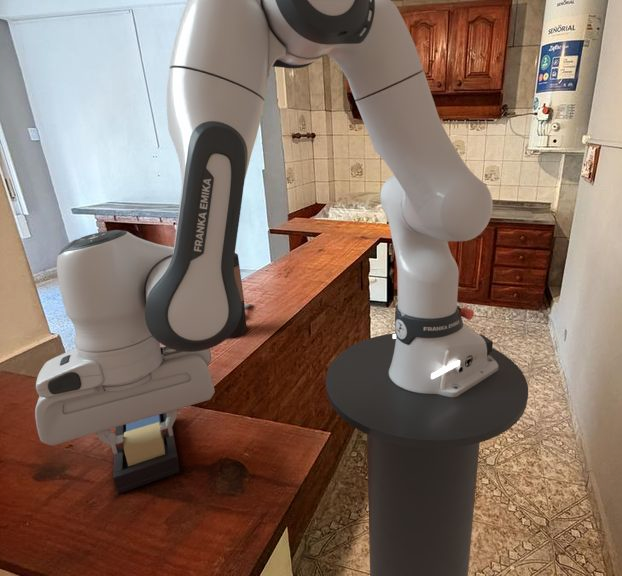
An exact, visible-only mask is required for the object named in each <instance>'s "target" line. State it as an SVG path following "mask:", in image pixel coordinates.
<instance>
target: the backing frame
mask: <svg viewBox="0 0 622 576" xmlns="http://www.w3.org/2000/svg"><path fill="white" fill-rule="evenodd" d="M160 418H161V422H165V421H166V419H167V415H166V413H163V414H160ZM172 430H173V436H169V437H167V438H164V439H163V440H164V448H165V454H164V455H161V456H159V457H156V458H153V459H150V460H147V461H144V462H141V463H138V464H135V465H132V466H128V463H127V459H126V456H125V452H121V453H117V454H113V456H114V458H113V482H114V485H115V489H116V492H117V495H120V494H123V493H126V492H128V491H131V490H133V489H137V488H140V487H142V486H145V485H148V484H150V483H153V482H156V481H158V480H162V479H164V478H167V477H170V476H173V475H175V474H179V473H180V472H181V470H180V462H179V458H178V456H179V455H178V451H177V445H176V444H177V443H176V439H175V432H174V425H173V426H172ZM124 432H126V424H125V425H122V426H118V427H115V434H114V435H116V436H119V435H124Z"/></svg>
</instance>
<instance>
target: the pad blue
mask: <svg viewBox="0 0 622 576" xmlns="http://www.w3.org/2000/svg"><path fill="white" fill-rule="evenodd" d="M157 422H160V423H162V422H161V418H160V414H159V415H156V416H152V417H149V418H146V419H142V420H139V421H135V422H132V423H129V424H126V432H127V431H130V430H134V429H137V428H140V427H144V426H147V425H150V424H154V423H157Z"/></svg>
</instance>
